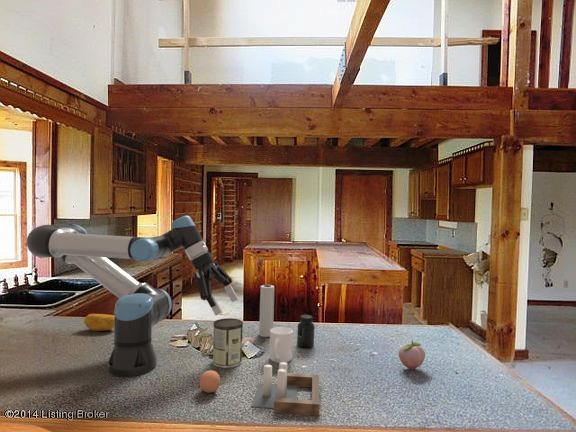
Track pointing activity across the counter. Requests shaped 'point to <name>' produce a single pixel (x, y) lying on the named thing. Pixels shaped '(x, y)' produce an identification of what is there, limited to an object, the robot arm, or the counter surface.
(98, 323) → the potato
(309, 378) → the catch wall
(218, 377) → the ball
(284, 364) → the pin
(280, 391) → the pin
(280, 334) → the mug
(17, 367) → the counter surface
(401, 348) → the decorative fruit
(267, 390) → the front pin
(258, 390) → the pin deck mark
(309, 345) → the supplement bottle
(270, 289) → the paper towel roll
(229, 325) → the coffee can
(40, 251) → the robot arm
